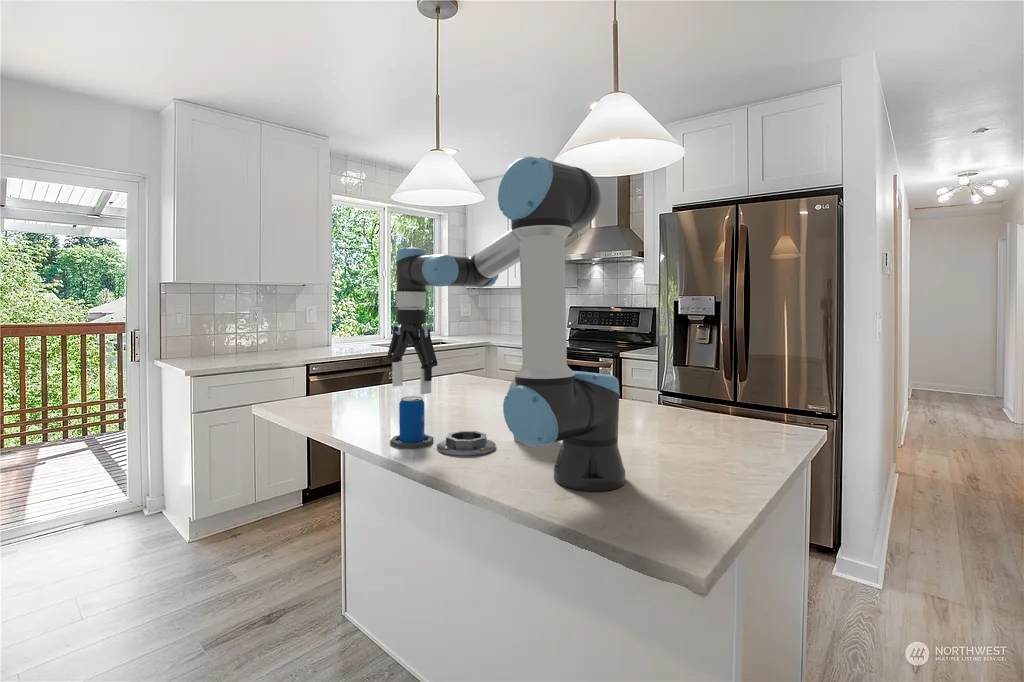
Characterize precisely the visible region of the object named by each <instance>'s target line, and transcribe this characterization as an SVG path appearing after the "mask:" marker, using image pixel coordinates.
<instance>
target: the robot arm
mask: <svg viewBox="0 0 1024 682" xmlns="http://www.w3.org/2000/svg"><path fill="white" fill-rule="evenodd" d="M601 195H602V194H601V189H600V186H599V184H598V181H597V180H596V179H595V177H594V176H593V175H592V174H591V173H590V172H588V171H587V170H585V169H583V168H581V167H577V166H571V165H568V164H564V163H560V162H557V161H553V160H550V159H548V158H545V157H536V156H529V155H528V156H523V157H520V158H519V159H516V160H515V161H514V162H513V163H511V164H509V166H508V168H507V169H506V172H505V173H504V174H503V175H502V177H501V180H500V183H499V187H498V191H497V202H498V203H497V204H498V207H499V210H500V211H501V212H502V214H503V216H504V217H506V218H507V219H509V220H510V222H511V224H510V227H511V229H510V230H508V231H506V232H505V233H504V234H502V235H500V236H499V237H497V239H495V240H493V241H492V242H490V243H489V244H488V245H486V246H485V247H483V248H482V249H480V250H479V251H478V252H476V253H474V254H472V255H471V256H468V257H467V256H455V255H449V254H444V253H435V254H434V253H433V254H430V255H429V254H427V251H426V250H425V249H424V248H420V247H400V248H399V249H398V250H397V251H396V262H395V265H396V266H395V268H396V271H395V272H396V274H395V275H396V283H395V284H396V295H395V296H396V301H395V302H396V303H395V304H396V308H397V310H396V323H397V324H398V325H394V326H393V330H392V331H393V332H392V333H393V334H392V336H391V339H390V344H389V347H388V348H389V349H388V352H387V356H386V358H387V359H388V360H390V362H391V365H392V367H391V371H392V373H391V374H392V378H391V379H392V381H391V382H392V383H391V384H392V385H391V386H392V387H393V388H394V387H402V386H403V384H404V383H403V376H404V375H403V373H404V372H403V371H404V370H403V369H404V366H403V365H404V363H403V361H404V360H403V357H404V354H405V352H406V350H407V348H408V347H409V345H410V346H411V347H412V348H414V350H415V352H416V355H417V357H418V359H419V362H420V364H421V366H420V382H419V383H420V386H419V387H420V391H419V392H420V393H419V394H420V395H427V394H431V393H432V379H433V377H432V376H433V374H432V373H433V370H432V369H433V368H434V367H438V365H439V364H438V360H437V357H436V353H435V348H434V346H433V342H432V337H431V329H430V328H423V325H425V324H426V323H427V310H425V309H424V308H426V306H427V297H426V296H427V286H431V287H465V288H466V287H467V288H468V287H469V288H478V289H479V288H485V287H487V288H488V287H493V286H494V285H495V284H496V282H497V280H498V279H499V275H500V274H502V273H503V272H505V271H506V270H508V269H510V268H511V267H513V266H514V265H516V264H518V263H519V264H520V265H519V267H520V268H519V269H520V270H519V271H520V308H521V311H520V312H521V314H520V315H521V347H522V349H521V352H522V360H521V361H522V365H521V367H520V368H519V369H518V370H517V372H516V373H515V374H514V378H515V387H513V388H512V389H510V390H509V389H508V390H509V391H508V392H507V393H506V395H505V396H504V398H503V403H502V411H503V417H504V421H505V424H506V425H507V427H508V429H509V432H511V433H512V434H513V437H514V436H515V437H516V438H517V439H518V440H519V441H520V442H519V443H522V444H524V445H526V446H530V447H538V446H543V445H544V446H548V445H553V444H554V443H557V442H560V441H561V442H562V444H561V446H560V449H559V452H558V455H557V458H556V462H555V463H554V467H553V479H554V481H555V482H556V483H557V484H559V485H561V486H563V487H566V488H568V489H572V490H578V491H583V492H584V491H585V492H604V491H605V492H606V491H613V490H616V489H619V488H622V487H623V486H624V485H625V483H626V470H625V467H624V463H623V460H622V455H621V453H620V449H619V418H620V417H619V413H620V412H619V411H620V410H619V408H620V397H621V393H620V382H619V379H618V378H617V377H616V376H614V375H610V374H605V373H597V372H590V371H589V372H588V371H581V370H579V371H578V370H572V369H571V368H570V367H569V366H568V361H567V360H568V357H567V356H568V355H567V352H568V349H567V309H566V308H567V304H566V303H567V301H566V298H567V297H566V296H567V295H566V257H565V255H566V254H565V251H566V250H565V240H566V239H568V238H570V237H572V236H574V234H577V233H578V232H580V231H581V230H583V229H585V228H586V227H587V226H588V225H590V223H591V222H592V221H594V219H595V218H596V216H597V214H598V211H599V209H600V207H601V201H602V200H601V199H602V198H601V197H602V196H601Z"/></svg>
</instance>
